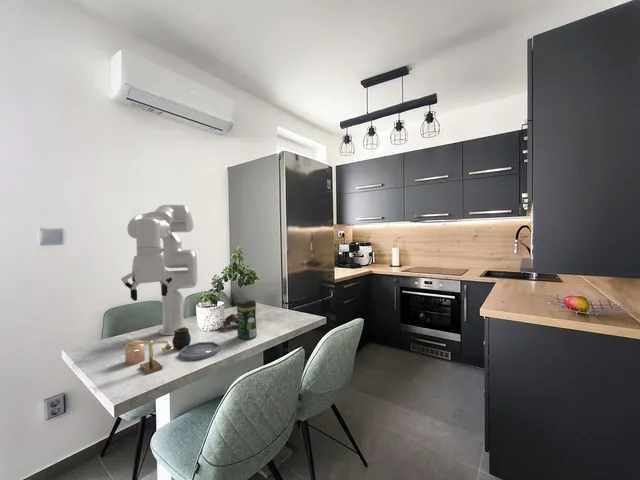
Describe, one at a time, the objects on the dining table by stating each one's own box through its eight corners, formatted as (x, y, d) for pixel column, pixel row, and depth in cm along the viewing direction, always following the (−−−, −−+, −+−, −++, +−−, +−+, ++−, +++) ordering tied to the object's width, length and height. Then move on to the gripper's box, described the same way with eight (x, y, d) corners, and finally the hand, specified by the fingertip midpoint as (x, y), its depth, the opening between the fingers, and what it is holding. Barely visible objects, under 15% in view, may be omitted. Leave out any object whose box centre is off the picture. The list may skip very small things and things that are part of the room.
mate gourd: (186, 342, 129) (186, 321, 129) (194, 347, 124) (194, 324, 124) (169, 347, 123) (169, 325, 123) (177, 352, 118) (177, 328, 118)
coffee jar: (234, 336, 136) (234, 298, 136) (249, 332, 142) (248, 295, 142) (244, 341, 129) (243, 301, 129) (259, 337, 135) (258, 298, 134)
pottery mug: (241, 331, 145) (232, 318, 144) (226, 338, 147) (217, 326, 145) (248, 318, 157) (240, 307, 155) (234, 325, 159) (226, 314, 157)
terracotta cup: (123, 361, 110) (122, 342, 110) (141, 356, 115) (141, 338, 114) (127, 366, 105) (127, 346, 105) (147, 360, 110) (146, 341, 110)
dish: (174, 353, 117) (174, 349, 117) (208, 343, 128) (208, 339, 128) (189, 363, 107) (189, 359, 107) (225, 351, 118) (225, 347, 118)
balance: (123, 372, 100) (122, 341, 100) (169, 358, 112) (168, 330, 112) (129, 380, 95) (128, 346, 95) (177, 364, 107) (176, 334, 107)
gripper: (169, 250, 112) (170, 293, 112) (118, 252, 99) (119, 300, 100) (177, 250, 107) (178, 295, 107) (123, 253, 94) (124, 303, 95)
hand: (149, 297), depth 103 cm, fingers open, 9 cm apart
